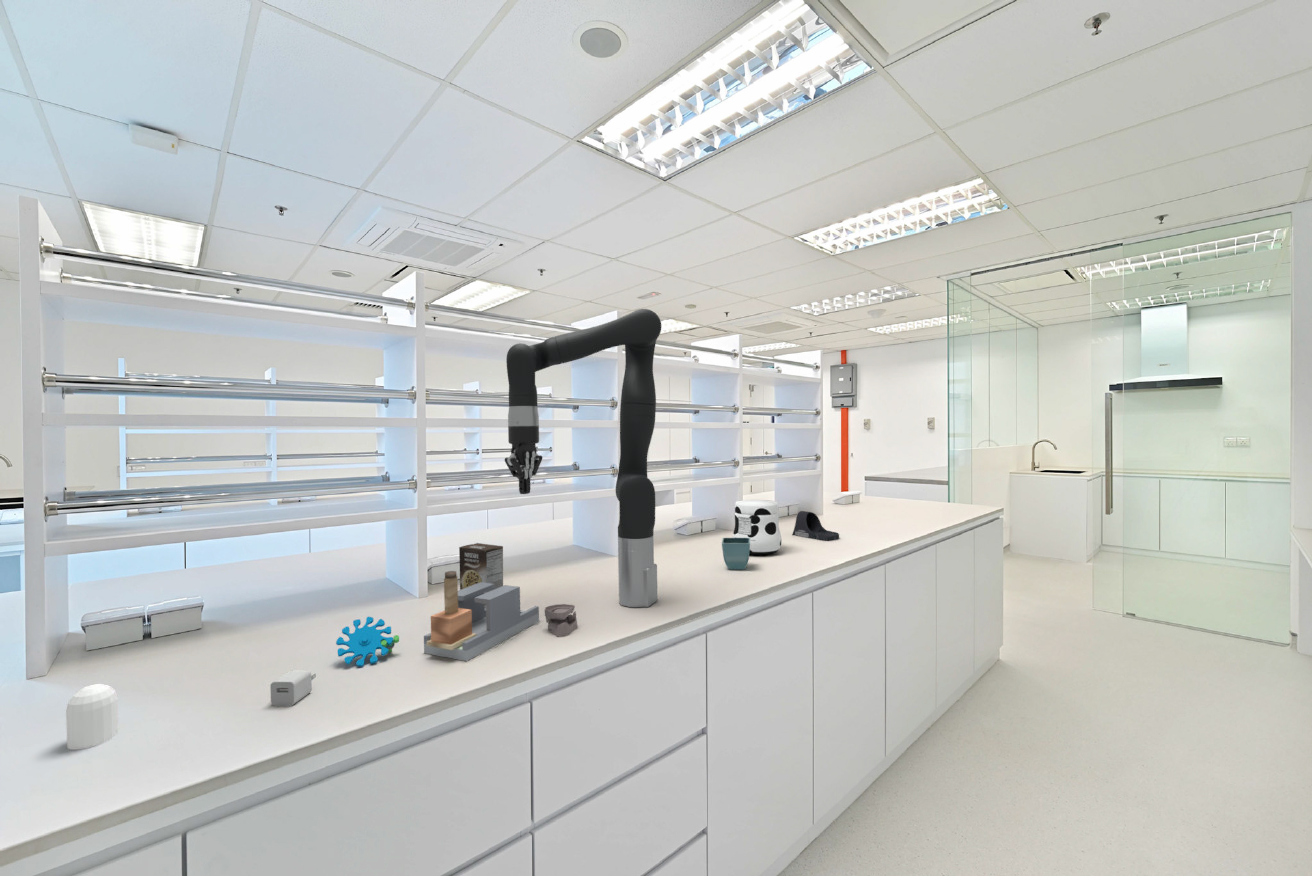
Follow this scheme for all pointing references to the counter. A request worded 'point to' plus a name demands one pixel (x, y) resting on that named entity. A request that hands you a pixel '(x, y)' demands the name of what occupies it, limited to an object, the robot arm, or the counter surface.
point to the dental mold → (561, 619)
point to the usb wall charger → (291, 687)
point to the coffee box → (481, 565)
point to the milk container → (758, 525)
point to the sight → (812, 528)
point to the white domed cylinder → (92, 717)
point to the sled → (451, 619)
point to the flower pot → (736, 552)
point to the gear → (366, 641)
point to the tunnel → (488, 619)
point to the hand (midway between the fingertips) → (524, 493)
